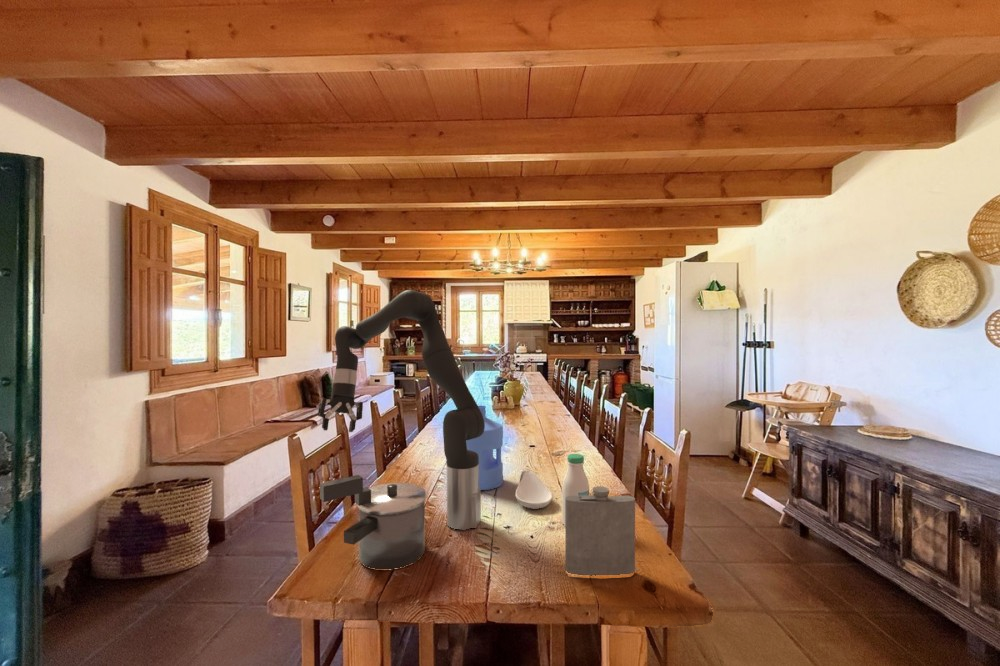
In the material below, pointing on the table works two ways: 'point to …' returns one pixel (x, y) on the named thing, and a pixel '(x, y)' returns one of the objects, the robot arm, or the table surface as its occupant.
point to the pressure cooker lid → (375, 495)
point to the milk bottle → (574, 480)
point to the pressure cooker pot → (389, 538)
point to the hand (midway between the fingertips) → (338, 431)
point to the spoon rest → (532, 491)
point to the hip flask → (600, 534)
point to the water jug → (488, 453)
